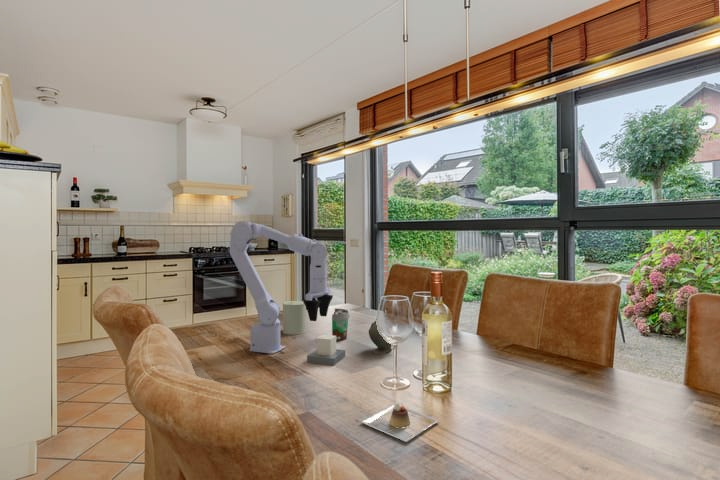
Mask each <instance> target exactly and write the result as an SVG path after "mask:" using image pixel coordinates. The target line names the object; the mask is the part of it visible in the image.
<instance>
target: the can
mask: <svg viewBox="0 0 720 480" xmlns="http://www.w3.org/2000/svg"><path fill="white" fill-rule="evenodd" d="M306 318H307V308H306V306H305V304H304V303H303V300H287V301H284V302H282V333H283V334H284V335H290V336H294V335H295V336H296V335H302V334H305V333H307V319H306Z"/></svg>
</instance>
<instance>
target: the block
mask: <svg viewBox="0 0 720 480" xmlns="http://www.w3.org/2000/svg"><path fill="white" fill-rule="evenodd" d="M316 349H317V354H319V355H328V356H331V355H332V354H334V353H335V352H336V349H337V341H336V336H333V335H331V334H322V335H320V336H318V337H317V339H316Z"/></svg>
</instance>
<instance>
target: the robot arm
mask: <svg viewBox="0 0 720 480" xmlns="http://www.w3.org/2000/svg"><path fill="white" fill-rule="evenodd" d="M255 238H266V239H270V240H274V241H276V242H279V243H282V244H285V245H286V246H287V248H288V250H290V251H292V252H295V253H297V254H300V255H303V256H306V257H308V256H310V265H309V292H308V293H306V294H305V298H303V300H302V301H303V303H304V304H305V306H306V312H307V313H308V314H307V315H308V318H309V321H310V322H316V321H317V319H318V312H319V316H320V317H327V315H328V311H329V307H330V304H331V302H332V300H333V297H334V296H333V294H331V288H328V264H327V262H328V261H327V260H328V259H327V256H328V252H329V251H328V249H327V246H326V245H325V244H324V243H322V242H320V241H317V239H314V238H313V239H311V238H308V237H305V236H304V235H303V234H302V233H298V234H297V233H294V234H292V235H290V234H286V233H285V232H282V231H280V230H277V229H274V228H272V227H270V226H267V225H264V224H260V223H255V222H252V221H246V220H240V221H237V222H236V223H235V224H234V225H233V226H232V229H231V230H230V240H229V254H230V257H231V258H232V261H233V262H234V264H235V267H236V269H237V270H238V272H239V274H240V275H241V278H242V279H243V281H244V283H245V285H246V287H247V289H248V291H249V292H250V295H251V296H252V298H253V301H254V306H255V309H256V311H257V318H258V321H257V322H254V323H253V324H252V326H251V328H250V334H249V335H250V338H249V339H250V342H249V343H250V349H248V350H249V352H254V353H262V354H271V355H272V354H276V353H278V352H280V351H281V350H283V349H286V345H281V320H280V319H279V318H278V317H279V316H280V314H281V306H280V304H279V303H277V302H276V301H274V299H273V297H272V296H271V295H270V294H269V292H268V290H267V289H266V287H265V284H264V283H263V281H262V280H261V279H262V278H261V277H260V276H259V273H258V271H257V270H256V267H255V265H254V264H253V262H252V260H251V258H250V257H249V255H248V252H247V250H248V247H249V246H250V244H251V242H252V240H253V239H255ZM316 241H317V242H316Z"/></svg>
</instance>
